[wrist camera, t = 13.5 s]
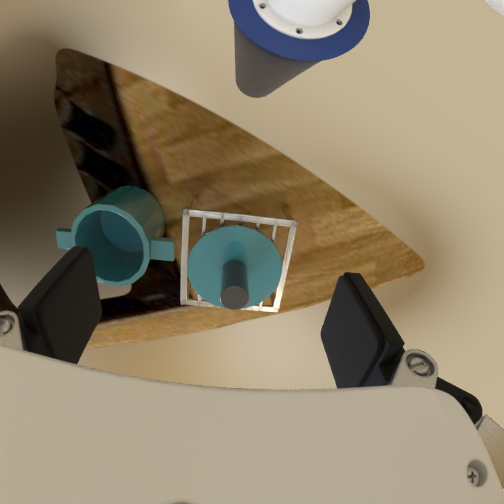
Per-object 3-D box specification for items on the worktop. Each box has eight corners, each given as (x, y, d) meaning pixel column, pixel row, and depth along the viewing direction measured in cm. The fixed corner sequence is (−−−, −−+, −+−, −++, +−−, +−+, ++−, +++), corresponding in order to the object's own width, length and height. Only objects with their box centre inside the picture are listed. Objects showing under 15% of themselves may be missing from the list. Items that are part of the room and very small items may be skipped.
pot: (80, 183, 35) (49, 201, 28) (186, 189, 37) (173, 209, 29) (85, 249, 40) (60, 277, 32) (183, 260, 41) (172, 293, 34)
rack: (190, 194, 37) (183, 209, 32) (289, 205, 38) (297, 221, 33) (186, 280, 43) (180, 303, 37) (273, 287, 44) (278, 312, 39)
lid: (190, 218, 32) (180, 242, 26) (288, 228, 33) (299, 254, 28) (187, 299, 37) (180, 333, 31) (272, 307, 38) (278, 341, 32)
